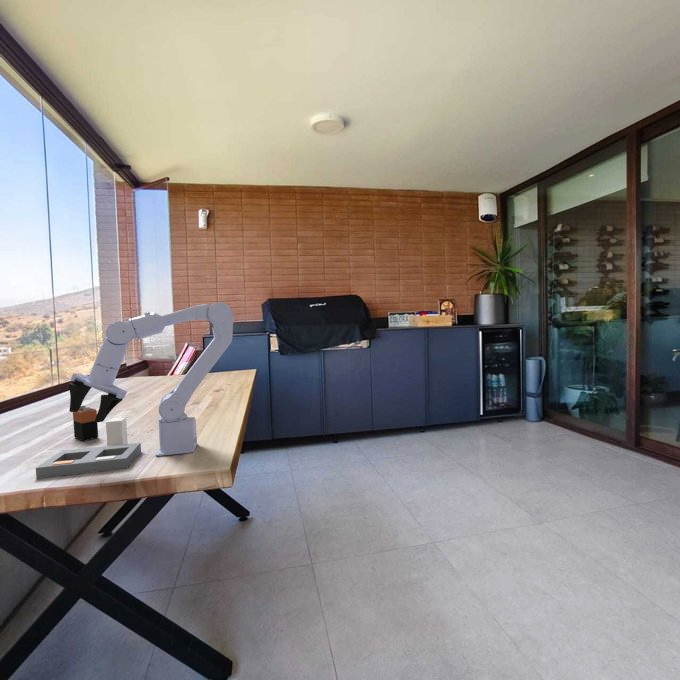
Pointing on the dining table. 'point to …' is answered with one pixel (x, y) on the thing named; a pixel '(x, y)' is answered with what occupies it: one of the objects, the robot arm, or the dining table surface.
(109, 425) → the plug
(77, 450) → the socket block
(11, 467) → the dining table surface
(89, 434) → the battery
